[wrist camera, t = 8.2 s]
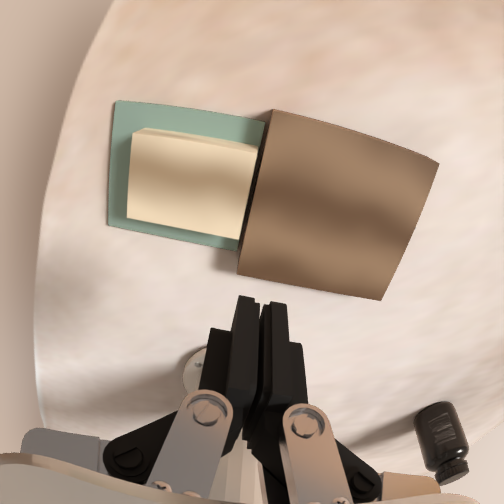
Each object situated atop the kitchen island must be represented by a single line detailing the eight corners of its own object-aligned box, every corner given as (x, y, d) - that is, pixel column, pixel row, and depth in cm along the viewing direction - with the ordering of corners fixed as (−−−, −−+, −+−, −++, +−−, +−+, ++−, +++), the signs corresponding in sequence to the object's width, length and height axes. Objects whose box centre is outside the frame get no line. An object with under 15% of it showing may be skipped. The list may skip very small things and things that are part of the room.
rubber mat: (237, 248, 25) (236, 251, 25) (110, 223, 25) (108, 225, 24) (265, 121, 20) (265, 122, 20) (118, 100, 20) (115, 100, 19)
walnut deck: (374, 287, 27) (380, 301, 25) (238, 260, 26) (236, 274, 24) (427, 156, 21) (439, 163, 19) (272, 109, 20) (273, 111, 18)
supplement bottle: (404, 426, 39) (420, 492, 29) (427, 401, 36) (450, 473, 26) (437, 423, 40) (455, 484, 29) (461, 398, 36) (485, 463, 26)
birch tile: (241, 224, 24) (238, 239, 22) (138, 204, 23) (126, 217, 21) (258, 146, 21) (257, 153, 19) (145, 127, 20) (132, 133, 18)
